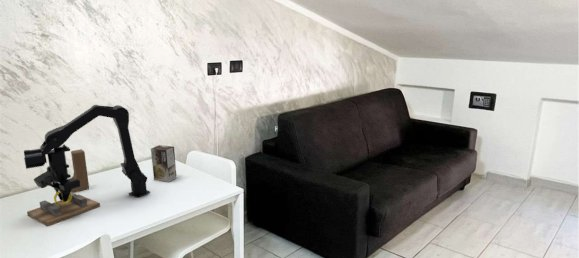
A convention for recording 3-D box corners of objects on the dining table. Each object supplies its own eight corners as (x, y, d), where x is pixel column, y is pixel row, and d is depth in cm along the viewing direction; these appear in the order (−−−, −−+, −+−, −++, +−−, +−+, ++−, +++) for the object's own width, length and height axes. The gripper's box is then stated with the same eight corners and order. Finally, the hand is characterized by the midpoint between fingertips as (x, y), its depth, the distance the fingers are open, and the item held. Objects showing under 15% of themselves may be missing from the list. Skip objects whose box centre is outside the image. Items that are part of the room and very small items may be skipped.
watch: (70, 200, 153) (69, 186, 152) (73, 202, 152) (72, 188, 150) (53, 204, 149) (52, 190, 148) (56, 206, 147) (55, 192, 146)
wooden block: (67, 194, 167) (61, 155, 163) (64, 191, 170) (59, 152, 166) (89, 188, 173) (84, 151, 169) (86, 186, 176) (81, 148, 172)
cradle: (100, 206, 155) (98, 196, 154) (47, 226, 139) (46, 215, 138) (79, 197, 163) (77, 187, 162) (27, 215, 147) (25, 204, 146)
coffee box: (177, 177, 186) (174, 146, 183) (169, 182, 180) (166, 150, 177) (161, 175, 189) (159, 144, 185) (153, 180, 183) (150, 148, 180)
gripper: (23, 164, 145) (30, 202, 149) (47, 174, 135) (54, 214, 139) (54, 157, 154) (59, 192, 158) (78, 165, 144) (84, 203, 148)
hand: (63, 200), depth 150 cm, fingers closed on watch, 2 cm apart
